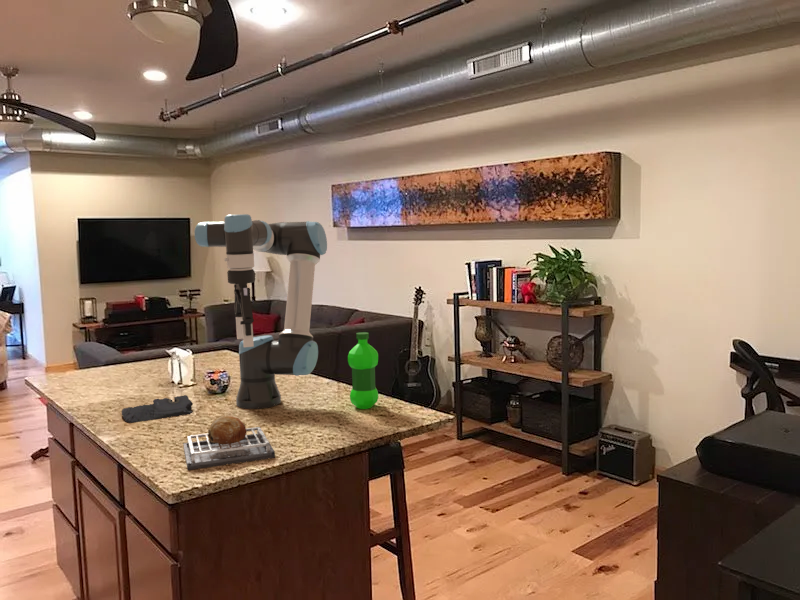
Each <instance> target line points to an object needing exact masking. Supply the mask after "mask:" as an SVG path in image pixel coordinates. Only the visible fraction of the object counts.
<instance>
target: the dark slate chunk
mask: <svg viewBox="0 0 800 600" xmlns="http://www.w3.org/2000/svg"><path fill="white" fill-rule="evenodd" d="M173 399H174V400H173ZM173 399H171V398H168V397H164V398H161V399H160V398H154V399H153V401H152V404H151V403H150V404H141V405H140V404H139V405H136V406H133V407H132V406H128V407H125V408H124V407H123V408H122V410H121V416H122V418H123V420H124V421H125V422H126V423H129V424H135V423H140V422H148V421H153V420H154V421H155V420H161V419H162V418H163V419H168V418H167V417H169V418H172V417H171V416H176V417H180V416H179V415H182V416H186V415H187V414H189V415H191V414H192V413H194V411H193V410H192V408H193V404H194V403H193V402H192V400H191V399H189V396H188V395H187V394H185V395H180V396H174V397H173ZM187 416H188V415H187Z"/></svg>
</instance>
